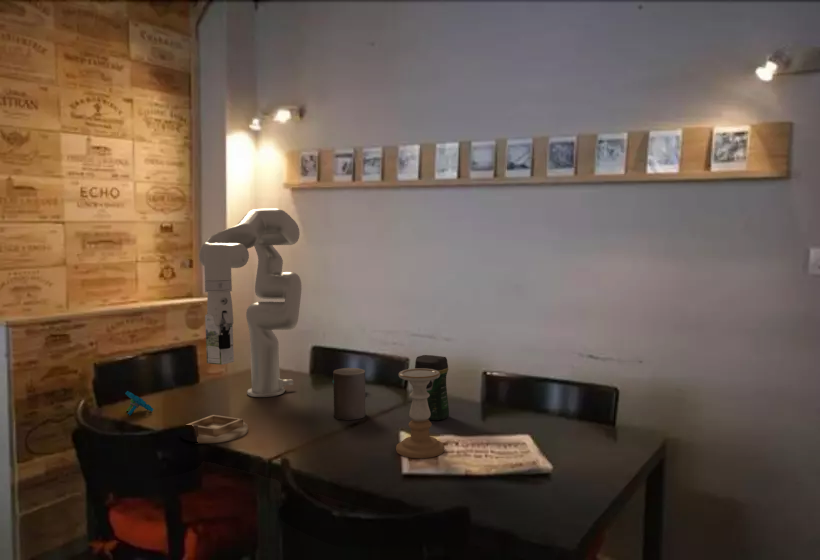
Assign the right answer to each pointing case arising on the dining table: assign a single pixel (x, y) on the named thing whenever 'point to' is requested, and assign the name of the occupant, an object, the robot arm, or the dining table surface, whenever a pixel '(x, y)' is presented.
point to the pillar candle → (349, 393)
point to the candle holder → (419, 417)
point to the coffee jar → (436, 385)
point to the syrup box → (217, 343)
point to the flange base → (219, 429)
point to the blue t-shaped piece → (136, 403)
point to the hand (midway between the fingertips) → (219, 346)
